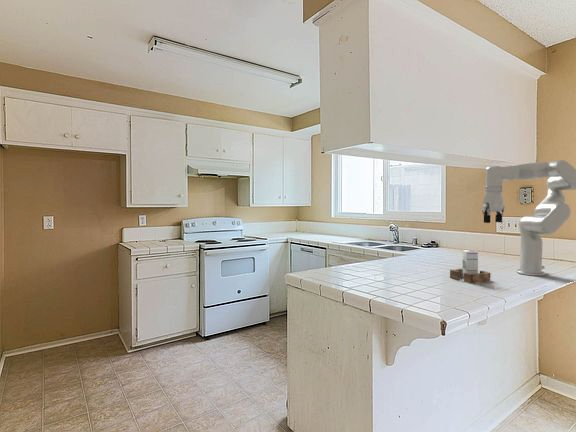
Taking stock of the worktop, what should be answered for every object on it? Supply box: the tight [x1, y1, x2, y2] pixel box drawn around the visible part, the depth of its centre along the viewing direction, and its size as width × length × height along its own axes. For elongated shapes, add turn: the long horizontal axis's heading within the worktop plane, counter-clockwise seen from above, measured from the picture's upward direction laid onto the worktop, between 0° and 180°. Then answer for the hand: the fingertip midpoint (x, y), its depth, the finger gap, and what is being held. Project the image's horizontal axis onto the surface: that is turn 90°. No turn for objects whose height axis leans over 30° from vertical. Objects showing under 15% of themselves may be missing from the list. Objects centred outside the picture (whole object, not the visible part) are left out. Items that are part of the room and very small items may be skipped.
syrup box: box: [462, 249, 479, 279], centre depth 167 cm, size 6×6×14 cm
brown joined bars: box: [449, 267, 491, 284], centre depth 167 cm, size 14×14×4 cm
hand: (492, 222), depth 173 cm, fingers open, 9 cm apart
